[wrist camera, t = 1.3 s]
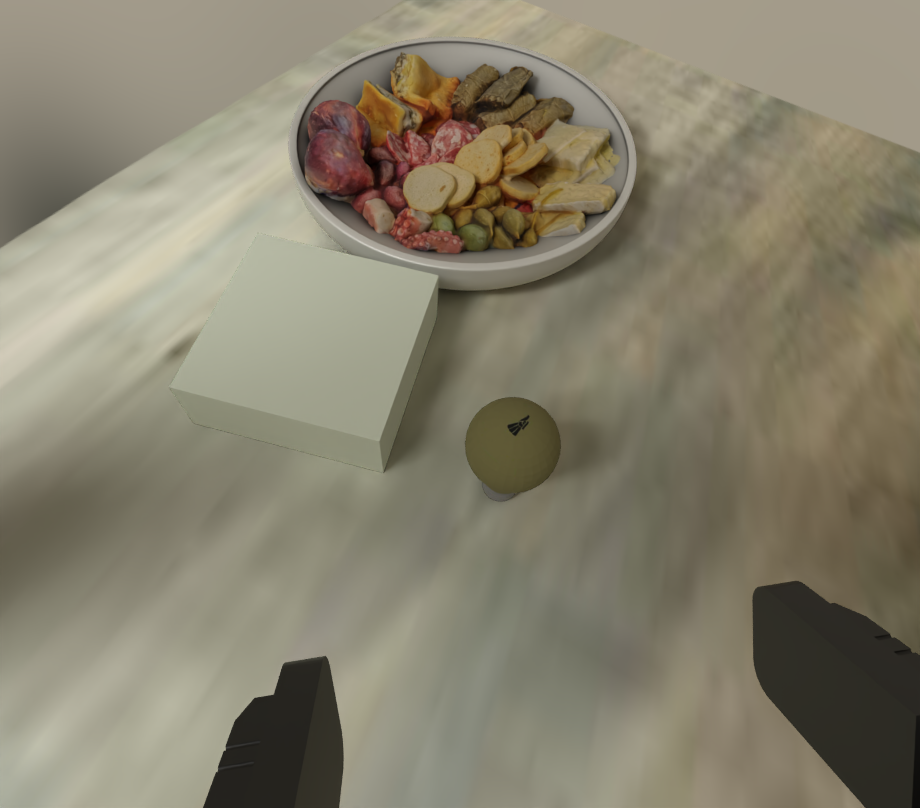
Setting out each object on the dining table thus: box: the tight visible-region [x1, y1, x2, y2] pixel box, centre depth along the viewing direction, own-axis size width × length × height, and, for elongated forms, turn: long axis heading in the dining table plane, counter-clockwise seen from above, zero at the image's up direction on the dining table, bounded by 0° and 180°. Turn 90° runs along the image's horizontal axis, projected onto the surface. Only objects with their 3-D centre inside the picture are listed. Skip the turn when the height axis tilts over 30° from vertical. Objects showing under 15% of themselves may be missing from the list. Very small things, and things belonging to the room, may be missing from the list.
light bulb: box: [465, 397, 561, 501], centre depth 38 cm, size 6×6×10 cm
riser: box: [169, 233, 439, 473], centre depth 44 cm, size 14×14×5 cm
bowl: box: [288, 37, 637, 291], centre depth 54 cm, size 30×30×8 cm
